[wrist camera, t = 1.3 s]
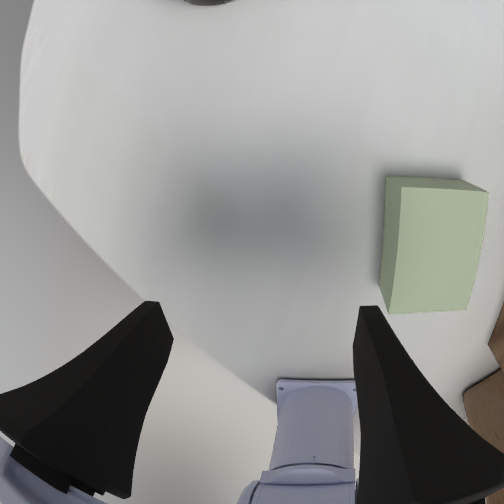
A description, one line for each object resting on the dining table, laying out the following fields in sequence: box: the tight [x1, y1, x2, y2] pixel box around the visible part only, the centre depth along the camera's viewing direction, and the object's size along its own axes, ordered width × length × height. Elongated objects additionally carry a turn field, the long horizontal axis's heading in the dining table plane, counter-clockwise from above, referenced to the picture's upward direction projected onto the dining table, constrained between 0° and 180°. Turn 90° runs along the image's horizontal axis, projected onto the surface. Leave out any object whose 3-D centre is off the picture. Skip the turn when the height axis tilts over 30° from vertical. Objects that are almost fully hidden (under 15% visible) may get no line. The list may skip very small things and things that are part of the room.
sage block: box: [379, 176, 489, 314], centre depth 17 cm, size 8×6×4 cm
